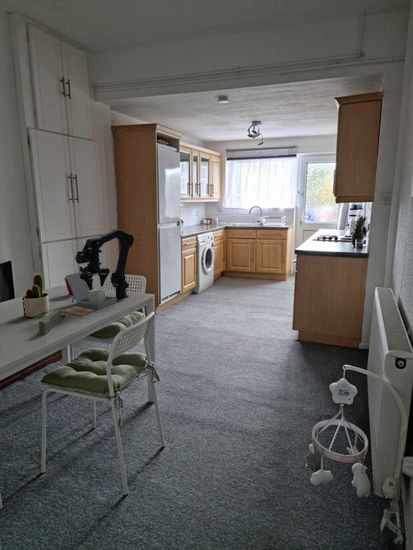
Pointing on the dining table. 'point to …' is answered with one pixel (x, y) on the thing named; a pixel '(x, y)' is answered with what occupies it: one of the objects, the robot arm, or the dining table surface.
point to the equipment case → (85, 293)
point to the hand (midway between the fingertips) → (96, 288)
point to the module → (96, 296)
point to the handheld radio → (50, 321)
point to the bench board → (78, 310)
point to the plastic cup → (68, 287)
